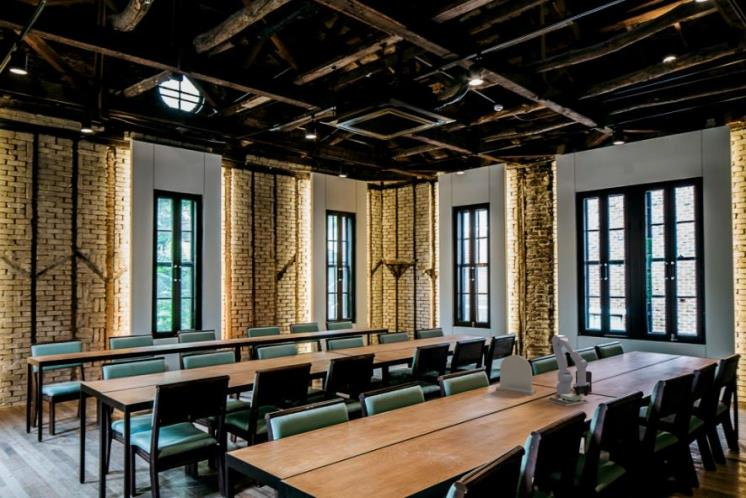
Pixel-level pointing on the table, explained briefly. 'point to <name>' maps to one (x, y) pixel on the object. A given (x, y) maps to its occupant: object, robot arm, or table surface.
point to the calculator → (587, 380)
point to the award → (516, 375)
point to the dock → (565, 401)
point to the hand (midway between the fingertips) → (581, 396)
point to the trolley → (571, 397)
